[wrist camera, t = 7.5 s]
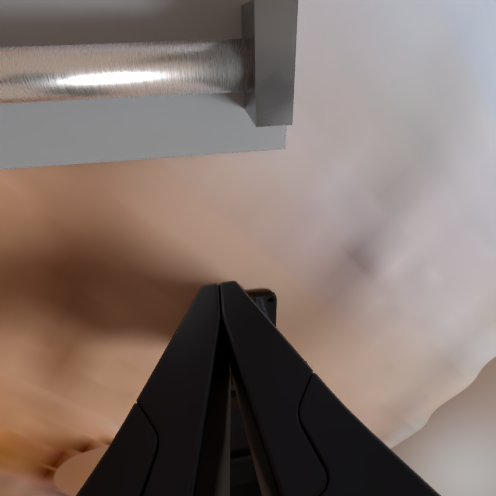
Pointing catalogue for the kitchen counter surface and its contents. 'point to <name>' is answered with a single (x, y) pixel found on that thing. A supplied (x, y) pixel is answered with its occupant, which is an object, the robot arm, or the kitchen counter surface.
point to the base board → (125, 109)
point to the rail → (168, 67)
